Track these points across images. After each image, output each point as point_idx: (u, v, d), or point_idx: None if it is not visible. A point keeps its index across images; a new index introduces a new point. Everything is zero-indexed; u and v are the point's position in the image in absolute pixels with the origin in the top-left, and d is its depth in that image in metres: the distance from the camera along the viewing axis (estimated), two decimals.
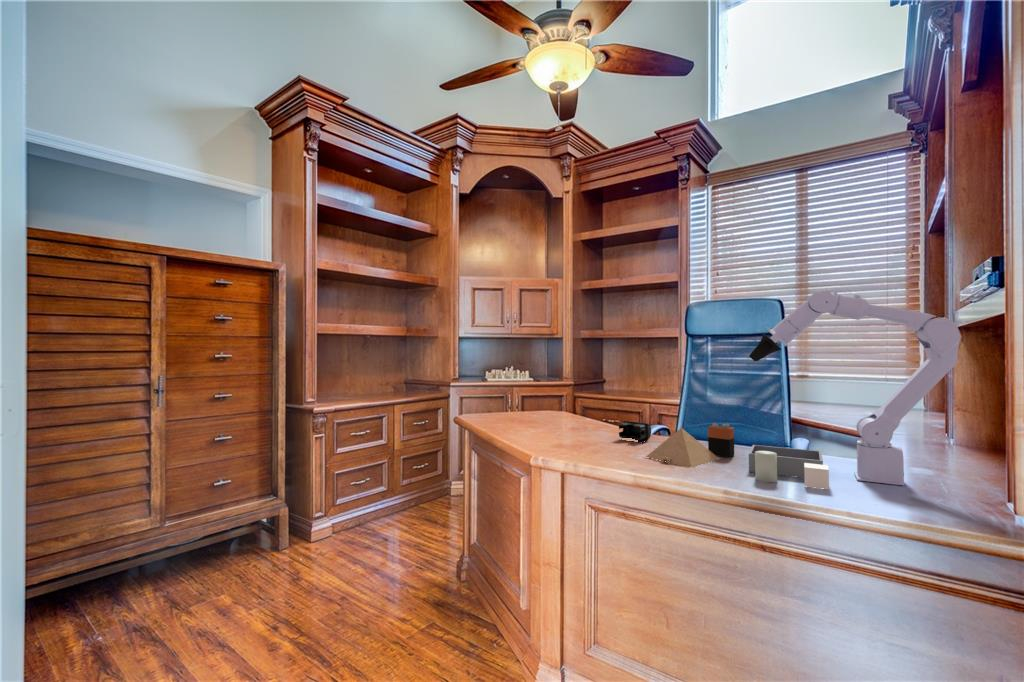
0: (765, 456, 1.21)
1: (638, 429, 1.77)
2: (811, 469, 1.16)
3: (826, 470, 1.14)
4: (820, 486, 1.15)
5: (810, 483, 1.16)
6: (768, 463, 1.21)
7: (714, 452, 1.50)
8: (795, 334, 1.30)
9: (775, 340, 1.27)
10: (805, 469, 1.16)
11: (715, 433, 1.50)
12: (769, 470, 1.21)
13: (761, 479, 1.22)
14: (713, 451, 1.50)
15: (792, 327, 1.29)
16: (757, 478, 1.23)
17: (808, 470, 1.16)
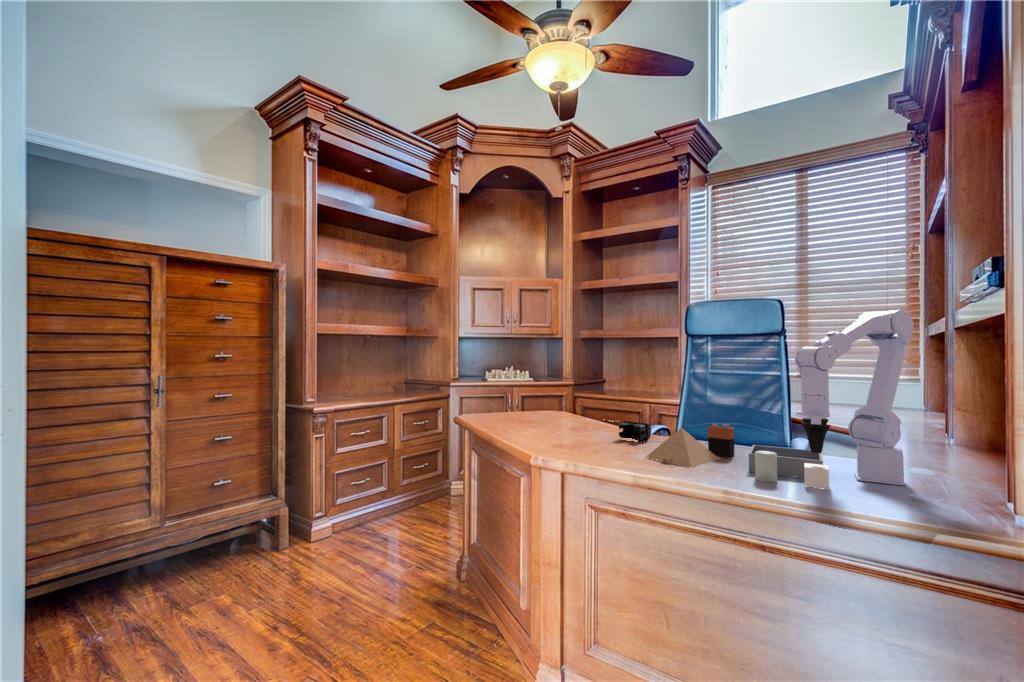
0: (765, 456, 1.21)
1: (638, 429, 1.77)
2: (811, 469, 1.16)
3: (826, 470, 1.14)
4: (820, 486, 1.15)
5: (810, 483, 1.16)
6: (768, 463, 1.21)
7: (714, 452, 1.50)
8: (826, 400, 1.15)
9: (818, 422, 1.11)
10: (805, 469, 1.16)
11: (715, 433, 1.50)
12: (769, 470, 1.21)
13: (761, 479, 1.22)
14: (713, 451, 1.50)
15: (817, 397, 1.15)
16: (757, 478, 1.23)
17: (808, 470, 1.16)
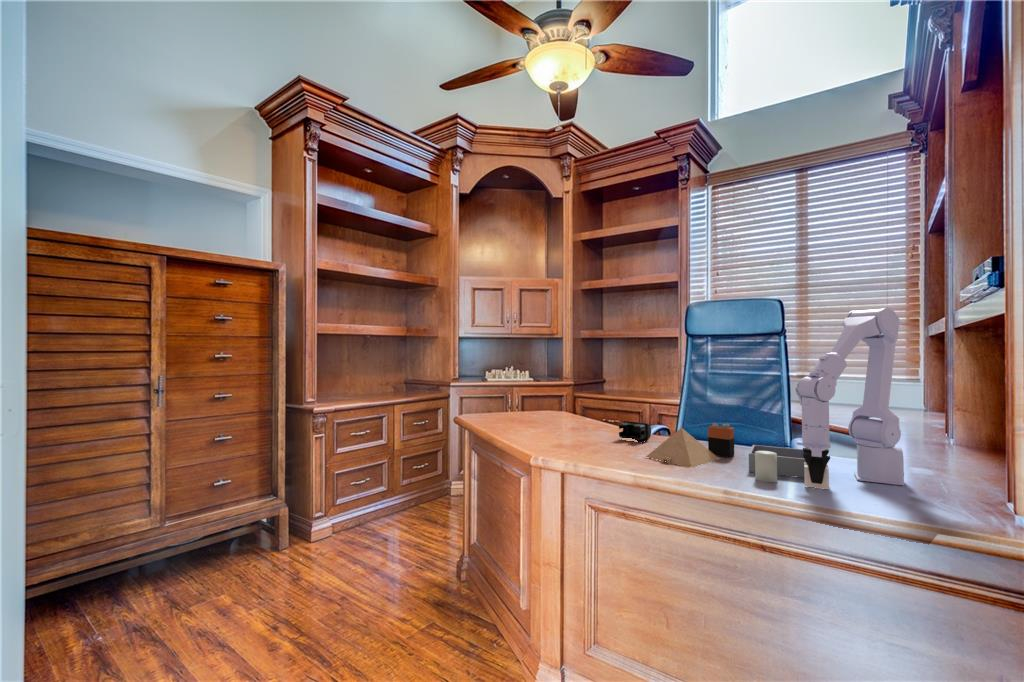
0: (765, 456, 1.21)
1: (638, 429, 1.77)
2: None
3: (826, 470, 1.14)
4: (820, 486, 1.15)
5: (810, 483, 1.16)
6: (768, 463, 1.21)
7: (714, 452, 1.50)
8: (827, 432, 1.15)
9: (818, 454, 1.11)
10: (805, 469, 1.16)
11: (715, 433, 1.50)
12: (769, 470, 1.21)
13: (761, 479, 1.22)
14: (713, 451, 1.50)
15: (818, 429, 1.15)
16: (757, 478, 1.23)
17: (808, 470, 1.16)
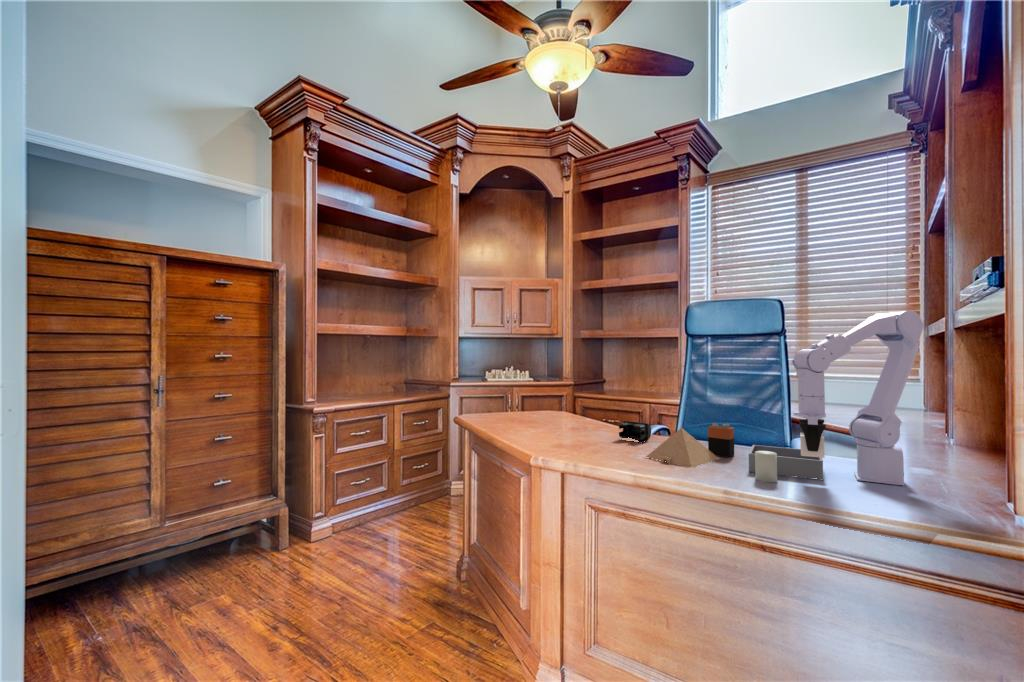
0: (765, 456, 1.21)
1: (638, 429, 1.77)
2: None
3: (821, 438, 1.18)
4: (816, 454, 1.19)
5: (806, 451, 1.20)
6: (768, 463, 1.21)
7: (714, 452, 1.50)
8: (822, 401, 1.19)
9: (814, 422, 1.15)
10: (801, 438, 1.20)
11: (715, 433, 1.50)
12: (769, 470, 1.21)
13: (761, 479, 1.22)
14: (713, 451, 1.50)
15: (814, 398, 1.19)
16: (757, 478, 1.23)
17: (804, 439, 1.20)
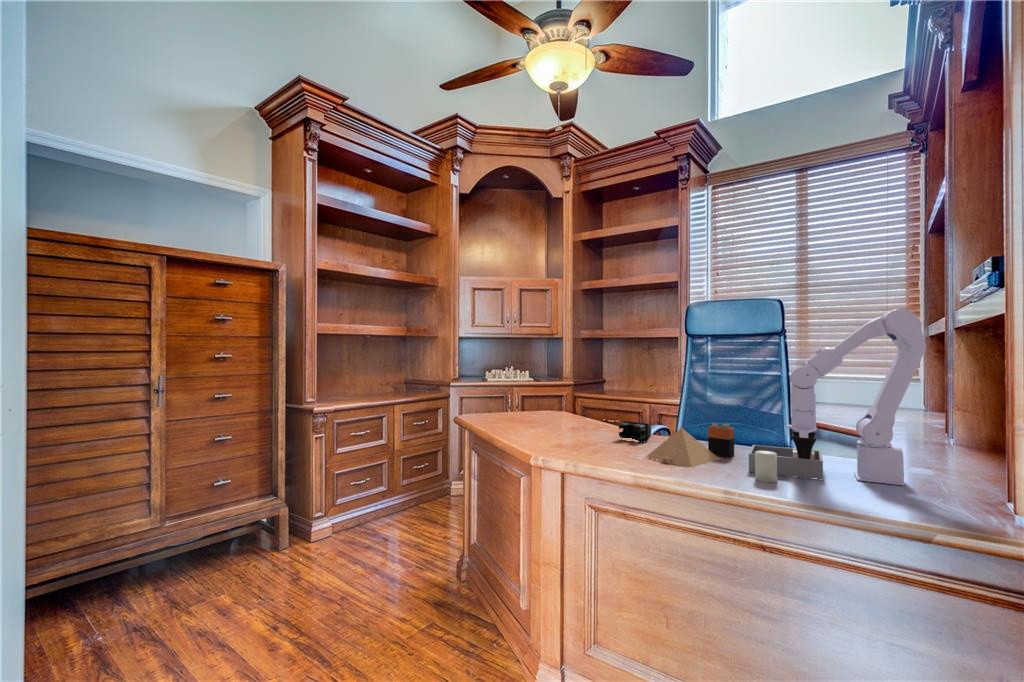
0: (765, 456, 1.21)
1: (638, 429, 1.77)
2: None
3: (812, 454, 1.27)
4: None
5: None
6: (768, 463, 1.21)
7: (714, 452, 1.50)
8: (813, 416, 1.27)
9: (805, 436, 1.23)
10: (793, 453, 1.29)
11: (715, 433, 1.50)
12: (769, 470, 1.21)
13: (761, 479, 1.22)
14: (713, 451, 1.50)
15: (805, 413, 1.27)
16: (757, 478, 1.23)
17: (796, 454, 1.29)
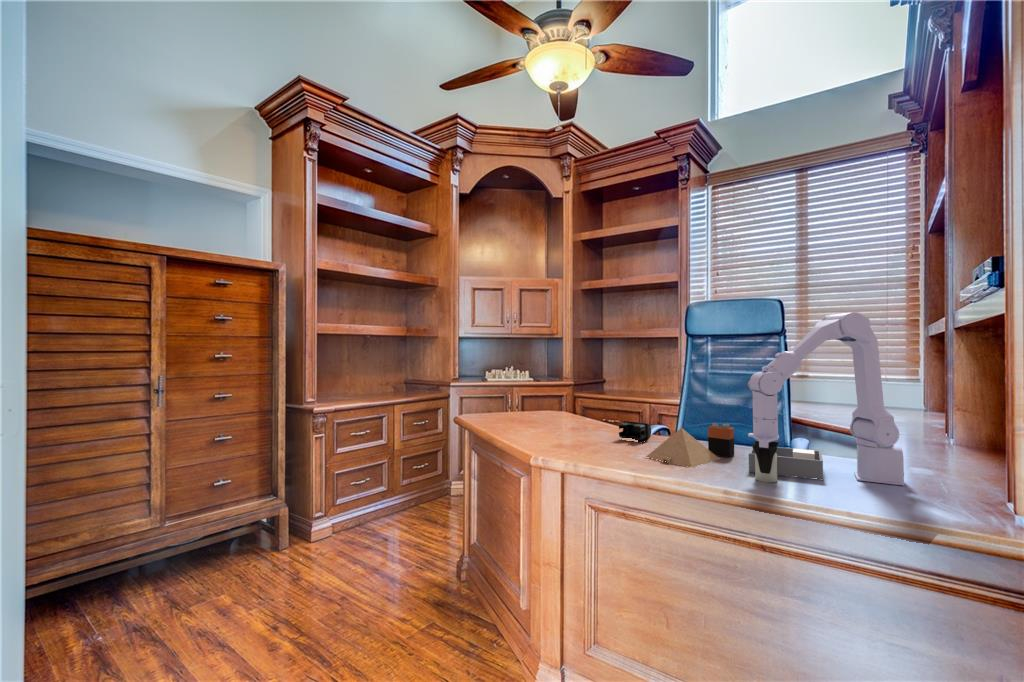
0: None
1: (638, 429, 1.77)
2: (799, 453, 1.28)
3: (812, 454, 1.27)
4: None
5: None
6: None
7: (714, 452, 1.50)
8: (775, 424, 1.21)
9: (765, 445, 1.17)
10: (793, 453, 1.29)
11: (715, 433, 1.50)
12: None
13: (761, 479, 1.22)
14: (713, 451, 1.50)
15: (766, 421, 1.21)
16: (757, 478, 1.23)
17: (796, 454, 1.29)
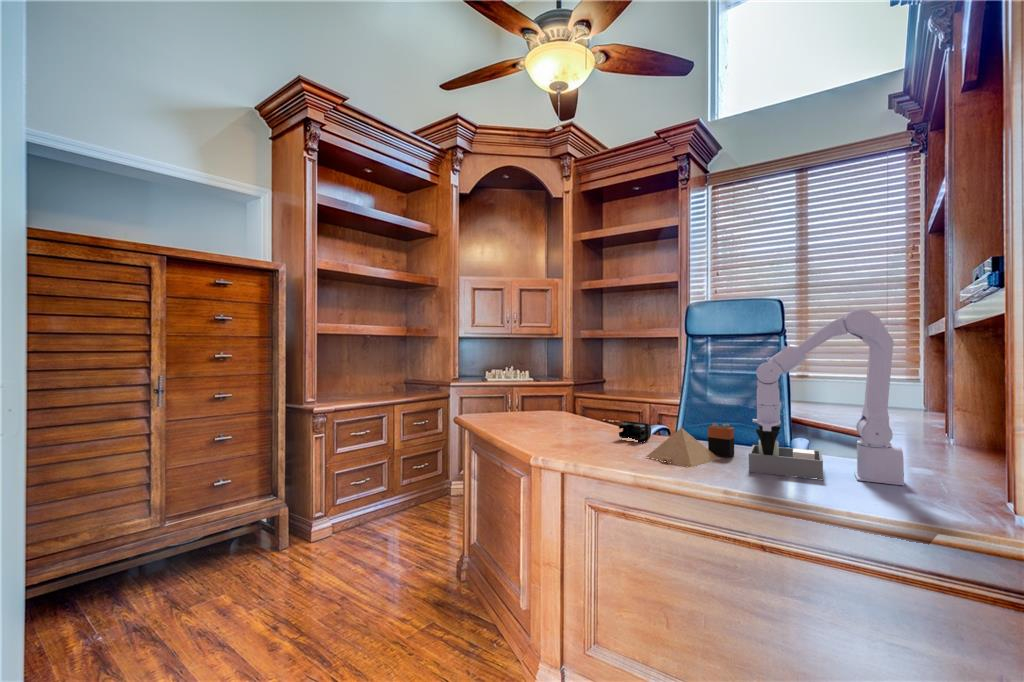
0: None
1: (638, 429, 1.77)
2: (799, 453, 1.28)
3: (812, 454, 1.27)
4: None
5: None
6: None
7: (714, 452, 1.50)
8: (777, 410, 1.32)
9: (768, 429, 1.28)
10: (793, 453, 1.29)
11: (715, 433, 1.50)
12: None
13: None
14: (713, 451, 1.50)
15: (769, 407, 1.32)
16: None
17: (796, 454, 1.29)
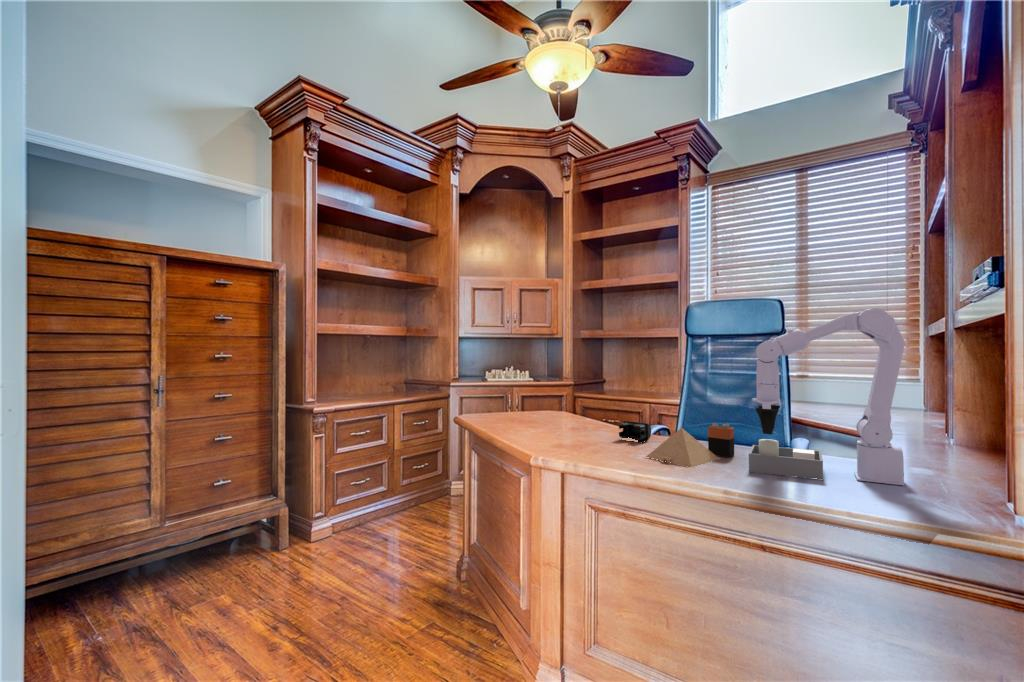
0: (768, 443, 1.32)
1: (638, 429, 1.77)
2: (799, 453, 1.28)
3: (812, 454, 1.27)
4: None
5: None
6: (771, 450, 1.32)
7: (714, 452, 1.50)
8: (776, 388, 1.32)
9: (768, 407, 1.28)
10: (793, 453, 1.29)
11: (715, 433, 1.50)
12: None
13: None
14: (713, 451, 1.50)
15: (769, 386, 1.32)
16: None
17: (796, 454, 1.29)
